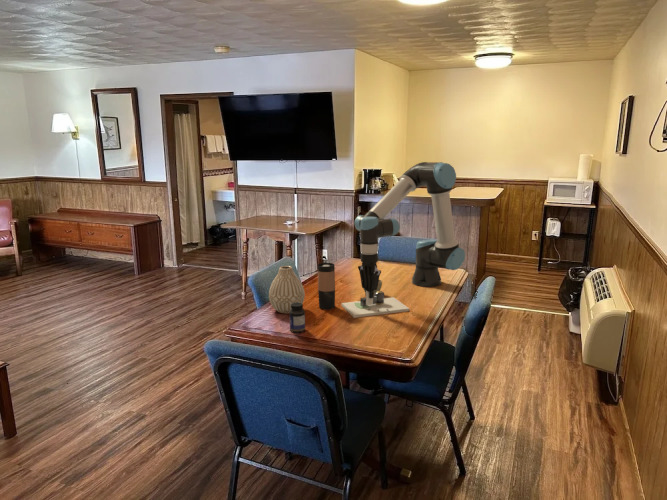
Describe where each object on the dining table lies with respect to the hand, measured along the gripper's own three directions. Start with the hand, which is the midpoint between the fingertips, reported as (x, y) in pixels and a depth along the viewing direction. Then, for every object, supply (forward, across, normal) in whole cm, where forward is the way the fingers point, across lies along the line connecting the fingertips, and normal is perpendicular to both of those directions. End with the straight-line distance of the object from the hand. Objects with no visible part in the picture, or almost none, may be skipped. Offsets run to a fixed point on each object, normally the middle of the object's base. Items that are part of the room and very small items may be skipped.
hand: (369, 304), depth 214 cm
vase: (+3, +24, +28) cm, 37 cm away
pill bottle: (+3, +1, +38) cm, 38 cm away
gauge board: (+3, +1, -4) cm, 5 cm away
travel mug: (+3, +16, +12) cm, 20 cm away
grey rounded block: (+1, +2, -4) cm, 4 cm away
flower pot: (+3, +16, -16) cm, 23 cm away
